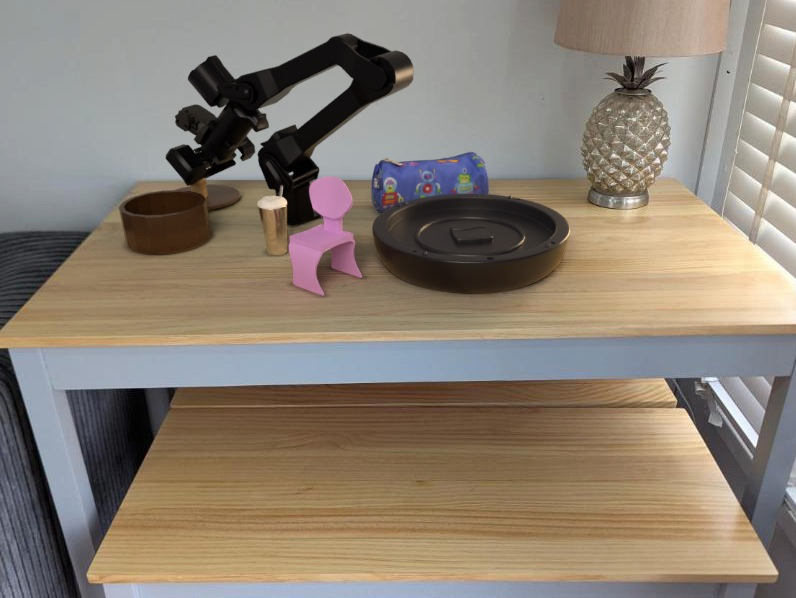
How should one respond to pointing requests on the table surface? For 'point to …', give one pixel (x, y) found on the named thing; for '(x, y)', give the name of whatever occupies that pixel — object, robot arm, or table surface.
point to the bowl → (165, 222)
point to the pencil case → (427, 179)
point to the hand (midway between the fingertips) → (192, 181)
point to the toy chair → (324, 235)
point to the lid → (214, 194)
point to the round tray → (470, 242)
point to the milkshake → (274, 222)
